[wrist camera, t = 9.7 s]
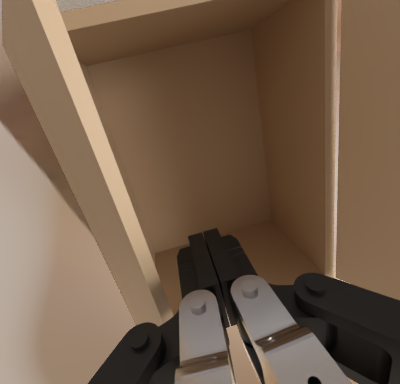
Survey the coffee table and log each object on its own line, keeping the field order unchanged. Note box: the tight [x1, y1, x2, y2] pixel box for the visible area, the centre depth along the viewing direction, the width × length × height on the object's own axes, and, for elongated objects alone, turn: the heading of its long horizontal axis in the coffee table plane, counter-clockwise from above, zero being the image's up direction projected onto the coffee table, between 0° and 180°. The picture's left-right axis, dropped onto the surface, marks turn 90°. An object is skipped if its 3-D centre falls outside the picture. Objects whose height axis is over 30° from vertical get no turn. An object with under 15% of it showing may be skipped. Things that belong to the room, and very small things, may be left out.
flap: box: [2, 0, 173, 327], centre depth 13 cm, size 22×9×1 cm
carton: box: [60, 0, 337, 316], centre depth 23 cm, size 24×18×12 cm
